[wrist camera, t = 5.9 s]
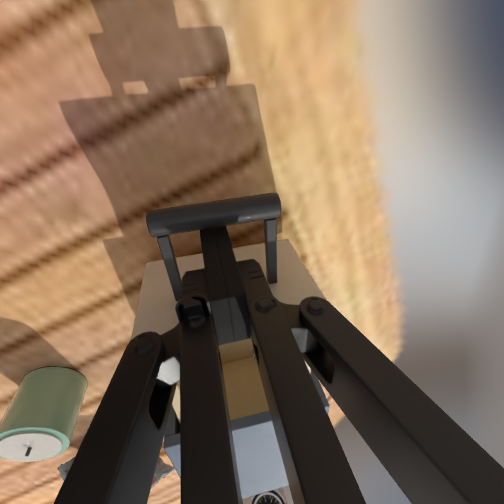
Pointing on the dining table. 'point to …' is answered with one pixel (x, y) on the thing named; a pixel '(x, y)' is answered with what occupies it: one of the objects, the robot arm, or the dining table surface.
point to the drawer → (172, 269)
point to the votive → (42, 414)
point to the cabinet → (246, 449)
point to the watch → (270, 497)
